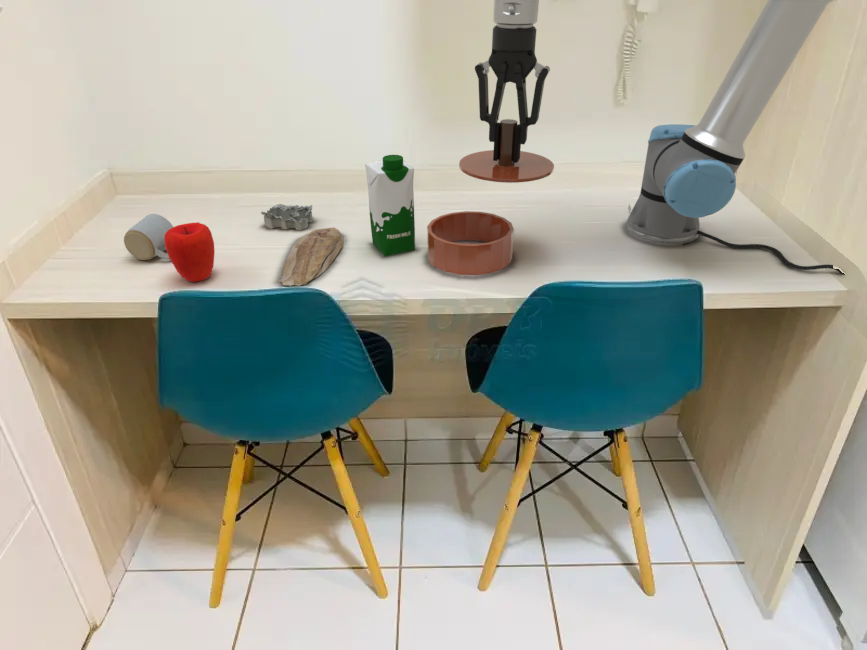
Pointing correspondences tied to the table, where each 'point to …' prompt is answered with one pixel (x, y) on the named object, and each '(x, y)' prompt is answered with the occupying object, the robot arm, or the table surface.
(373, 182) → the milk carton
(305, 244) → the fish fossil
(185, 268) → the apple
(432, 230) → the pot
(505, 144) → the lid
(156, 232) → the ceramic mug
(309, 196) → the table surface
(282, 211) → the egg carton
